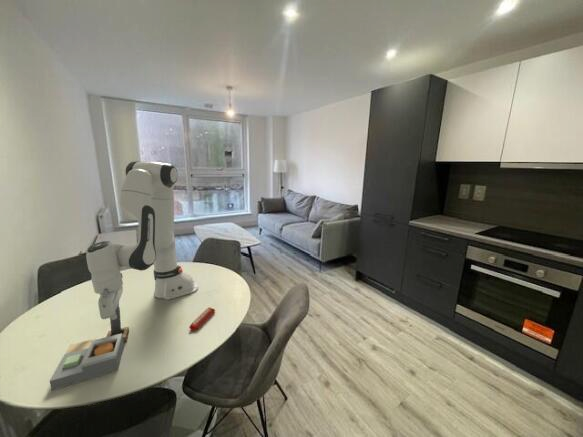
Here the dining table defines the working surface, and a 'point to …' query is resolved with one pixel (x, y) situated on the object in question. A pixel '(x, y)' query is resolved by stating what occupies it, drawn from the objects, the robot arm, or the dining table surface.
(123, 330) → the stand
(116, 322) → the grey rounded rod
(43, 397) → the dining table surface
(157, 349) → the dining table surface
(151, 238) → the robot arm
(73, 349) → the pad
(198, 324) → the candy bar
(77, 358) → the on button
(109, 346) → the plunger
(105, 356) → the grey boxy piece
